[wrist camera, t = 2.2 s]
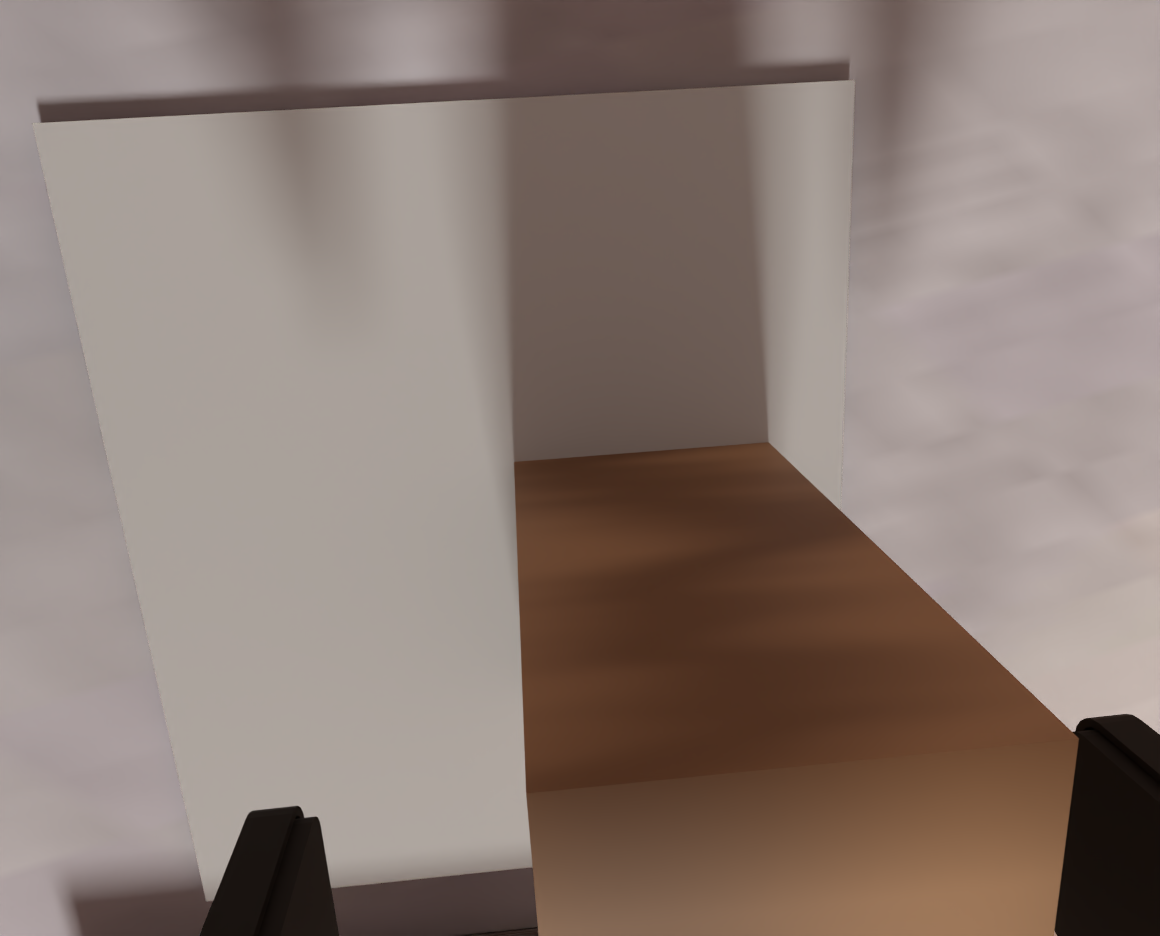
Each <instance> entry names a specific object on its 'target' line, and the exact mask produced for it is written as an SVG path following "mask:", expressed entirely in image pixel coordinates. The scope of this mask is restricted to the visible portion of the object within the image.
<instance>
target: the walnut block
mask: <svg viewBox="0 0 1160 936" xmlns="http://www.w3.org/2000/svg"><path fill="white" fill-rule="evenodd" d="M514 479H515V506H516V533H517V561H518V588H519V615H520V642H521V669H522V696H523V724H524V751H525V778H526V798H527V810H528V821H529V833H530V844H531V855H532V867H533V878H534V890H535V901H536V912H537V924H538V935H539V936H1054V929H1055V921H1056V914H1057V906H1058V898H1059V890H1060V882H1061V874H1062V867H1063V859H1064V851H1065V843H1066V835H1067V828H1068V820H1069V812H1070V804H1071V796H1072V788H1073V781H1074V773H1075V765H1076V757H1077V749H1078V741H1079V738H1078V737H1077V736H1076V735H1075V734H1074V733H1073V732H1071V731H1070V730H1069V729H1068V728H1067V727H1066V726H1065V725H1064V724H1063V723H1062V722H1061V721H1060V720H1059V719H1058V718H1057V717H1056V716H1055V715H1054V714H1053V713H1052V712H1051V711H1050V710H1048V709H1047V708H1046V707H1045V706H1044V705H1043V704H1042V703H1041V702H1040V701H1039V700H1038V699H1037V698H1036V697H1035V696H1034V695H1033V694H1032V693H1031V692H1030V691H1029V690H1028V689H1026V688H1025V687H1024V686H1023V685H1022V684H1021V683H1020V682H1019V681H1018V680H1017V679H1016V678H1015V677H1014V676H1013V675H1012V674H1011V673H1010V672H1009V671H1008V670H1007V669H1006V668H1004V667H1003V666H1002V665H1001V664H1000V663H999V662H998V661H997V660H996V659H995V658H994V657H993V656H992V655H991V654H990V653H989V652H988V651H987V650H986V649H985V648H984V647H983V646H981V645H980V644H979V643H978V642H977V641H976V640H975V639H974V638H973V637H972V636H971V635H970V634H969V633H968V632H967V631H966V630H965V629H964V628H963V627H962V626H961V625H959V624H958V623H957V622H956V621H955V620H954V619H953V618H952V617H951V616H950V615H949V614H948V613H947V612H946V611H945V610H944V609H943V608H942V607H941V606H940V605H939V604H937V603H936V602H935V601H934V600H933V599H932V598H931V597H930V596H929V595H928V594H927V593H926V592H925V591H924V590H923V589H922V588H921V587H920V586H919V585H918V584H917V583H916V582H914V581H913V580H912V579H911V578H910V577H909V576H908V575H907V574H906V573H905V572H904V571H903V570H902V569H901V568H900V567H899V566H898V565H897V564H896V563H895V562H894V561H892V560H891V559H890V558H889V557H888V556H887V555H886V554H885V553H884V552H883V551H882V550H881V549H880V548H879V547H878V546H877V545H876V544H875V543H874V542H873V541H872V540H870V539H869V538H868V537H867V536H866V535H865V534H864V533H863V532H862V531H861V530H860V529H859V528H858V527H857V526H856V525H855V524H854V523H853V522H852V521H851V520H850V519H849V518H847V517H846V516H845V515H844V514H843V513H842V512H841V511H840V510H839V509H838V508H837V507H836V506H835V505H834V504H833V503H832V502H831V501H830V500H829V499H828V498H827V497H825V496H824V495H823V494H822V493H821V492H820V491H819V490H818V489H817V488H816V487H815V486H814V485H813V484H812V483H811V482H810V481H809V480H808V479H807V478H806V477H805V476H803V475H802V474H801V473H800V472H799V471H798V470H797V469H796V468H795V467H794V466H793V465H792V464H791V463H790V462H789V461H788V460H787V459H786V458H785V457H784V456H783V455H782V454H780V453H779V452H778V451H777V450H776V449H775V448H774V447H773V446H772V445H771V444H770V443H769V442H765V443H752V444H739V445H726V446H713V447H700V448H687V449H674V450H661V451H648V452H635V453H623V454H610V455H597V456H584V457H571V458H558V459H545V460H532V461H519V462H514Z"/></svg>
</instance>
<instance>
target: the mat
mask: <svg viewBox="0 0 1160 936" xmlns="http://www.w3.org/2000/svg"><path fill="white" fill-rule="evenodd" d="M854 99H855V80H843V81H824V82H805V83H786V84H767V85H748V86H729V87H710V88H691V89H673V90H654V91H635V92H616V93H597V94H578V95H559V96H540V97H521V98H502V99H483V100H464V101H445V102H426V103H407V104H388V105H369V106H350V107H332V108H313V109H294V110H275V111H256V112H237V113H218V114H199V115H180V116H161V117H142V118H123V119H104V120H85V121H66V122H47V123H32V125H33V130H34V134H35V139H36V143H37V148H38V152H39V157H40V161H41V165H42V170H43V174H44V179H45V183H46V188H47V192H48V197H49V201H50V206H51V210H52V215H53V219H54V224H55V228H56V233H57V237H58V242H59V246H60V250H61V255H62V259H63V264H64V268H65V273H66V277H67V282H68V286H69V291H70V295H71V300H72V304H73V309H74V313H75V318H76V322H77V326H78V331H79V335H80V340H81V344H82V349H83V353H84V358H85V362H86V367H87V371H88V376H89V380H90V385H91V389H92V394H93V398H94V402H95V407H96V411H97V416H98V420H99V425H100V429H101V434H102V438H103V443H104V447H105V452H106V456H107V461H108V465H109V470H110V474H111V479H112V483H113V487H114V492H115V496H116V501H117V505H118V510H119V514H120V519H121V523H122V528H123V532H124V537H125V541H126V546H127V550H128V555H129V559H130V563H131V568H132V572H133V577H134V581H135V586H136V590H137V595H138V599H139V604H140V608H141V613H142V617H143V622H144V626H145V631H146V635H147V639H148V644H149V648H150V653H151V657H152V662H153V666H154V671H155V675H156V680H157V684H158V689H159V693H160V698H161V702H162V707H163V711H164V716H165V720H166V724H167V729H168V733H169V738H170V742H171V747H172V751H173V756H174V760H175V765H176V769H177V774H178V778H179V783H180V787H181V792H182V796H183V800H184V805H185V809H186V814H187V818H188V823H189V827H190V832H191V836H192V841H193V845H194V850H195V854H196V859H197V863H198V868H199V872H200V876H201V881H202V885H203V890H204V894H205V899H206V901H213V900H214V898H215V895H216V893H217V890H218V888H219V885H220V883H221V880H222V878H223V875H224V872H225V870H226V867H227V865H228V862H229V860H230V857H231V855H232V852H233V850H234V847H235V845H236V842H237V840H238V837H239V835H240V832H241V829H242V827H243V824H244V822H245V819H246V817H247V815H248V814H249V812H251V811H254V810H263V809H272V808H281V807H290V806H299V807H301V809H302V811H303V814H304V818H307V817H318V819H319V821H320V825H321V830H322V836H323V842H324V848H325V854H326V860H327V866H328V873H329V879H330V885H331V888H339V887H349V886H358V885H368V884H377V883H387V882H396V881H406V880H416V879H425V878H435V877H444V876H454V875H463V874H473V873H483V872H492V871H502V870H511V869H521V868H530V867H532V855H531V844H530V833H529V821H528V810H527V798H526V778H525V751H524V724H523V696H522V669H521V642H520V615H519V588H518V561H517V533H516V506H515V479H514V462H519V461H532V460H545V459H558V458H571V457H584V456H597V455H610V454H623V453H635V452H648V451H661V450H674V449H687V448H700V447H713V446H726V445H739V444H752V443H765V442H769V443H770V444H771V445H772V446H773V447H774V448H775V449H776V450H777V451H778V452H779V453H780V454H782V455H783V456H784V457H785V458H786V459H787V460H788V461H789V462H790V463H791V464H792V465H793V466H794V467H795V468H796V469H797V470H798V471H799V472H800V473H801V474H802V475H803V476H805V477H806V478H807V479H808V480H809V481H810V482H811V483H812V484H813V485H814V486H815V487H816V488H817V489H818V490H819V491H820V492H821V493H822V494H823V495H824V496H825V497H827V498H828V499H829V500H830V501H831V502H832V503H833V504H834V505H835V506H836V507H837V508H838V509H839V510H840V511H841V494H842V464H843V433H844V403H845V373H846V342H847V312H848V282H849V251H850V221H851V191H852V160H853V130H854Z"/></svg>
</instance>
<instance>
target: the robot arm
mask: <svg viewBox="0 0 1160 936" xmlns="http://www.w3.org/2000/svg"><path fill="white" fill-rule="evenodd" d="M1073 733H1074V734H1075V735H1076V736H1077V737H1078V738H1079V741H1078V749H1077V757H1076V765H1075V773H1074V781H1073V788H1072V796H1071V804H1070V812H1069V820H1068V828H1067V835H1066V843H1065V851H1064V859H1063V867H1062V874H1061V882H1060V890H1059V898H1058V906H1057V914H1056V921H1055V929H1054V930H1055V932H1056V934H1057V936H1160V735H1159V734H1158V733H1157V732H1155V731H1154V730H1153V729H1152V728H1150V727H1149V726H1148V725H1146V724H1145V723H1144V722H1143V721H1141V720H1140V719H1139V718H1137V717H1135V716H1133V715H1129V714H1122V715H1112V716H1103V717H1094V718H1086V719H1084V720H1081V721H1080V722H1079V724H1078V725H1077V727H1076V731H1075V732H1073ZM200 936H339V933H338V927H337V921H336V915H335V909H334V903H333V897H332V891H331V885H330V879H329V873H328V866H327V860H326V854H325V848H324V842H323V836H322V830H321V825H320V821H319V819H318V817H307V818H304V814H303V811H302V809H301V807H299V806H290V807H281V808H272V809H263V810H254V811H251V812H249V814H248V815H247V817H246V819H245V822H244V824H243V827H242V829H241V832H240V835H239V837H238V840H237V842H236V845H235V847H234V850H233V852H232V855H231V857H230V860H229V862H228V865H227V867H226V870H225V872H224V875H223V878H222V880H221V883H220V885H219V888H218V890H217V893H216V895H215V898H214V900H213V903H212V905H211V908H210V910H209V913H208V915H207V918H206V921H205V923H204V926H203V928H202V931H201V933H200Z"/></svg>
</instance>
